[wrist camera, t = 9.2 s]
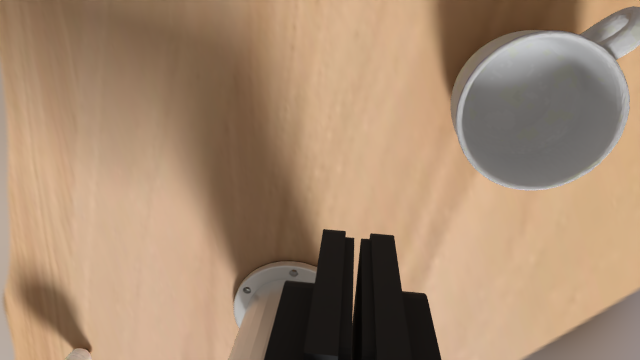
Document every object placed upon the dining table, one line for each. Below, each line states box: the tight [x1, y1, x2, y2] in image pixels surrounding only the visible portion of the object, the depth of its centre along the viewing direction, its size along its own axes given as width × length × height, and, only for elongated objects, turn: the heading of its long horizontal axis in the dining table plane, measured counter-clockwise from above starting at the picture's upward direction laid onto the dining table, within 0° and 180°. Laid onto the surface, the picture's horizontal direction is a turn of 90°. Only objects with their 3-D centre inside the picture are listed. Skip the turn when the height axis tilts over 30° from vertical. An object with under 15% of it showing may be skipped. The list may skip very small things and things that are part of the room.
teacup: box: [451, 6, 640, 190], centre depth 32 cm, size 14×11×8 cm
